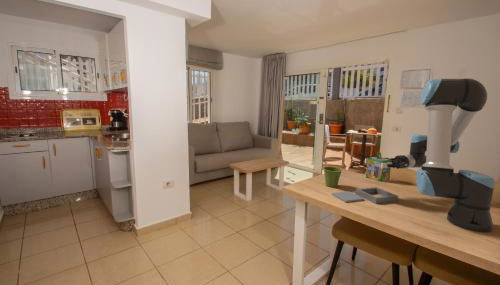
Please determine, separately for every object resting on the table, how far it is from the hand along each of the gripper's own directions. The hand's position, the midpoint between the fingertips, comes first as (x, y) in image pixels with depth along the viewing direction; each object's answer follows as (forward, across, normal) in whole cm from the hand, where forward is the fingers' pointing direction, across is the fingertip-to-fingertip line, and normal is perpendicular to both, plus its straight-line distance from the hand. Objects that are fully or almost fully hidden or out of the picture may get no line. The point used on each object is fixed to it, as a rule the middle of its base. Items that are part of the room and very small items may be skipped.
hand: (373, 163), depth 132 cm
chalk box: (-4, 0, -9) cm, 10 cm away
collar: (-4, 0, -20) cm, 20 cm away
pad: (+12, +4, -20) cm, 24 cm away
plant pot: (+8, +24, -20) cm, 32 cm away
